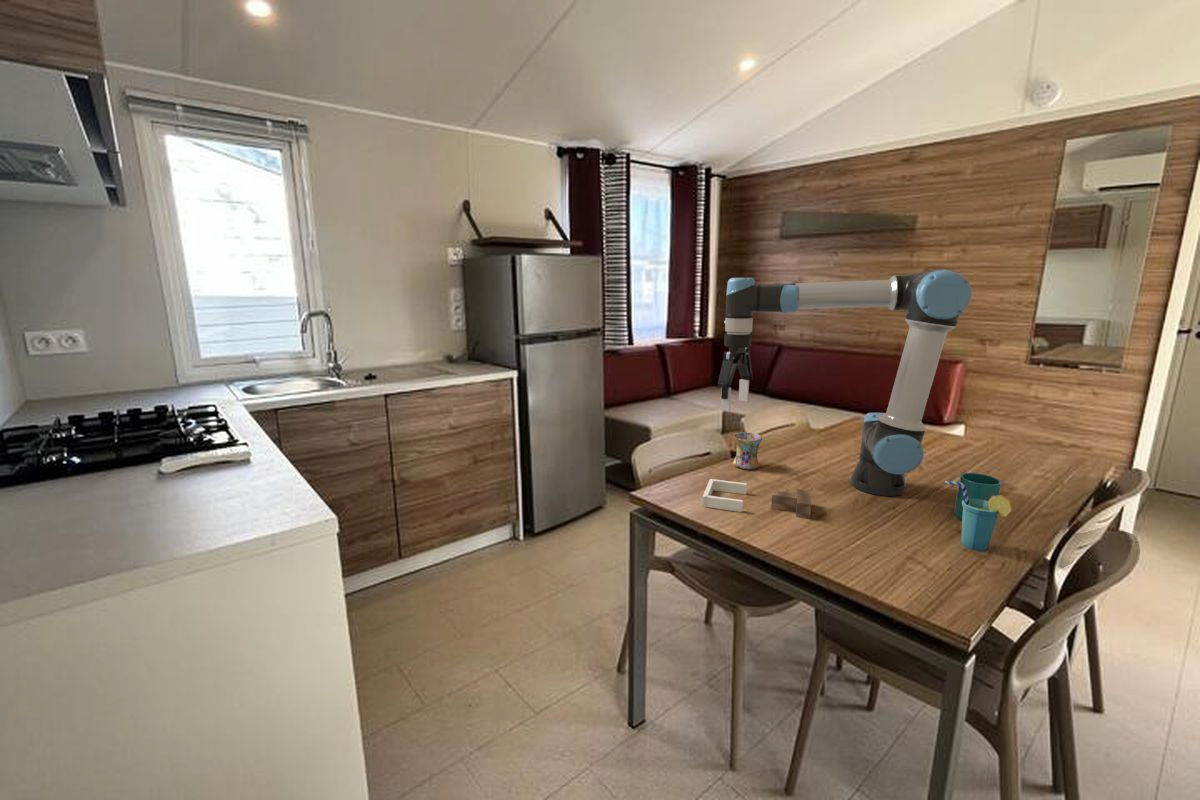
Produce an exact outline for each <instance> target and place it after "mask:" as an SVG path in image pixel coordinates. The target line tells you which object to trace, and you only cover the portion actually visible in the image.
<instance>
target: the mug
mask: <svg viewBox="0 0 1200 800" xmlns="http://www.w3.org/2000/svg"><path fill="white" fill-rule="evenodd" d="M733 439H734V442H735V445H736V453H735V454H736V455H735V458H734V460H733V462H732V464H733V466H735V467H737V468H740V469H743V470H754V469H758V468H759V466H760V463H759V460H758V450H759V446H760V444H761V442H762V440H763V436H762V435H761V434H757V433H754V432H753V433H752V432H744V431H743V432H736V433H734V434H733Z"/></svg>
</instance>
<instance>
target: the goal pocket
mask: <svg viewBox="0 0 1200 800" xmlns="http://www.w3.org/2000/svg"><path fill="white" fill-rule="evenodd" d="M747 488H748V483H746V482H738V481H730V480H723V479H722V480H721V479H714V478H710V479H709V480H708V483H707V485H706V487H705V489H704V492H703V495H702V500H701V501H702V503H701V507H703V508H711V509H717V510H725V511H732V512H740V513H743V508H744V507H743V505H744V500H743V499H736V498H732V497H731V498H728V497H724V496H723V497H721V496H715V495H712V494H713V491H717V492H723V493H733V494H739V495H747Z"/></svg>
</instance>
